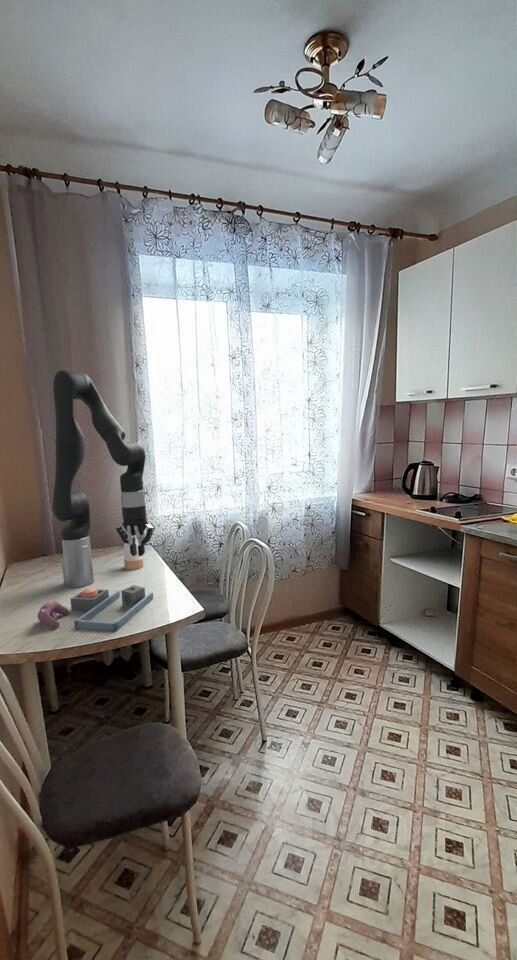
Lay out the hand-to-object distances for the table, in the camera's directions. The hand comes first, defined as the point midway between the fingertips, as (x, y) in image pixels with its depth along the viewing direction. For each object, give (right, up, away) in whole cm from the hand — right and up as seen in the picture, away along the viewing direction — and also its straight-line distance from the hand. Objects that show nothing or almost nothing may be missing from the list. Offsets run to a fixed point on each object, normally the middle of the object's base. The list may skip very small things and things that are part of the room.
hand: (137, 555), depth 143 cm
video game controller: (-20, -17, -17) cm, 31 cm away
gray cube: (+1, -14, -7) cm, 16 cm away
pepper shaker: (-10, -10, +30) cm, 33 cm away
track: (-3, -15, -13) cm, 20 cm away
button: (-13, -13, -8) cm, 20 cm away
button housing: (-13, -15, -7) cm, 21 cm away
